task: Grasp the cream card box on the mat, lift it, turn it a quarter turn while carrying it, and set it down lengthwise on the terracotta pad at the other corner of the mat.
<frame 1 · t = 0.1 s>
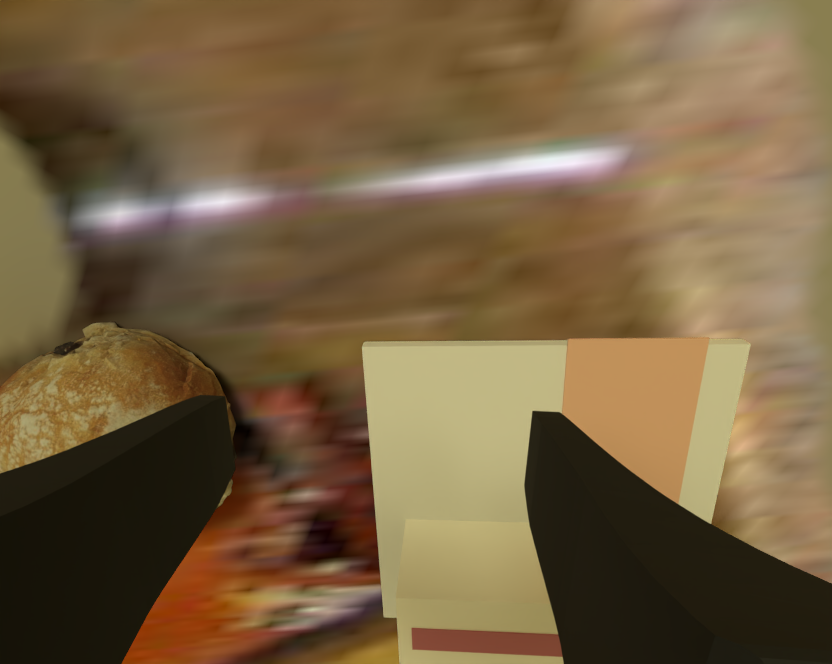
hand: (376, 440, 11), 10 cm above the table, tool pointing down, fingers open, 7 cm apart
mat: (537, 492, 23), on the table
card box: (485, 556, 24), point 1 cm above the table, touching mat
bread roll: (154, 415, 24), on the table
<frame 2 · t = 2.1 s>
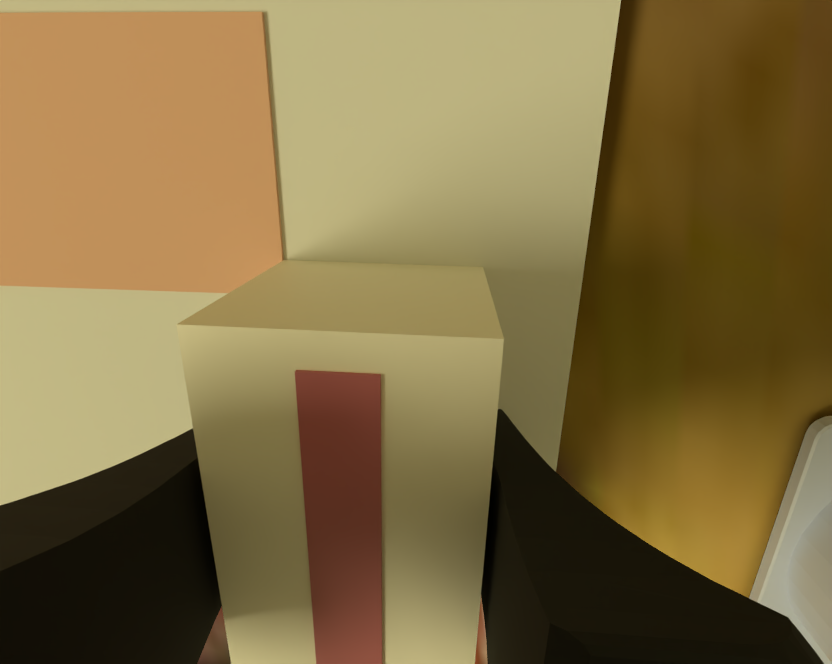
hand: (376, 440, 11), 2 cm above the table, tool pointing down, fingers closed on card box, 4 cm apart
mat: (246, 312, 12), on the table
card box: (382, 419, 12), point 1 cm above the table, touching gripper, mat
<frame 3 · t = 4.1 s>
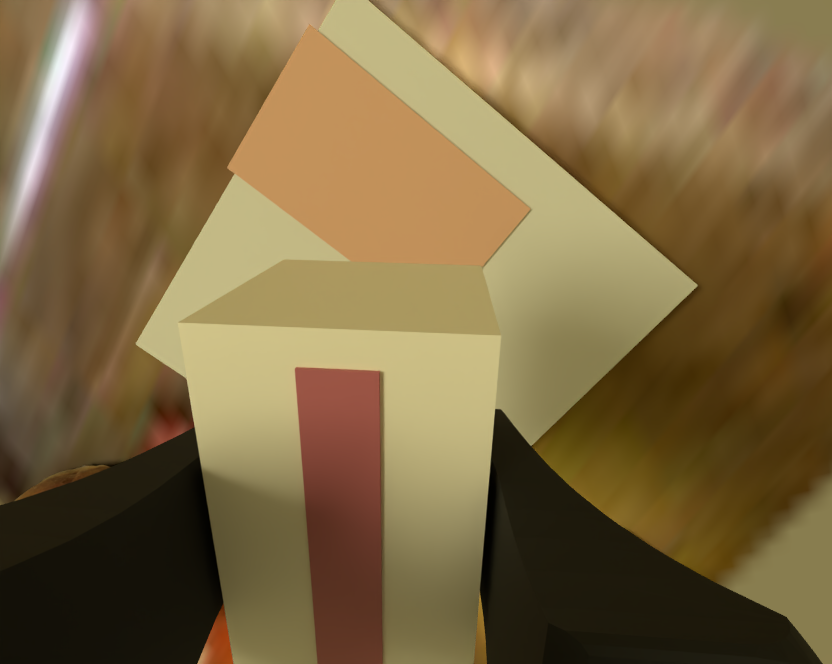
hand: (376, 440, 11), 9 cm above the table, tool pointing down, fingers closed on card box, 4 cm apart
mat: (399, 312, 19), on the table
card box: (382, 417, 12), point 8 cm above the table, touching gripper
bread roll: (132, 532, 25), on the table
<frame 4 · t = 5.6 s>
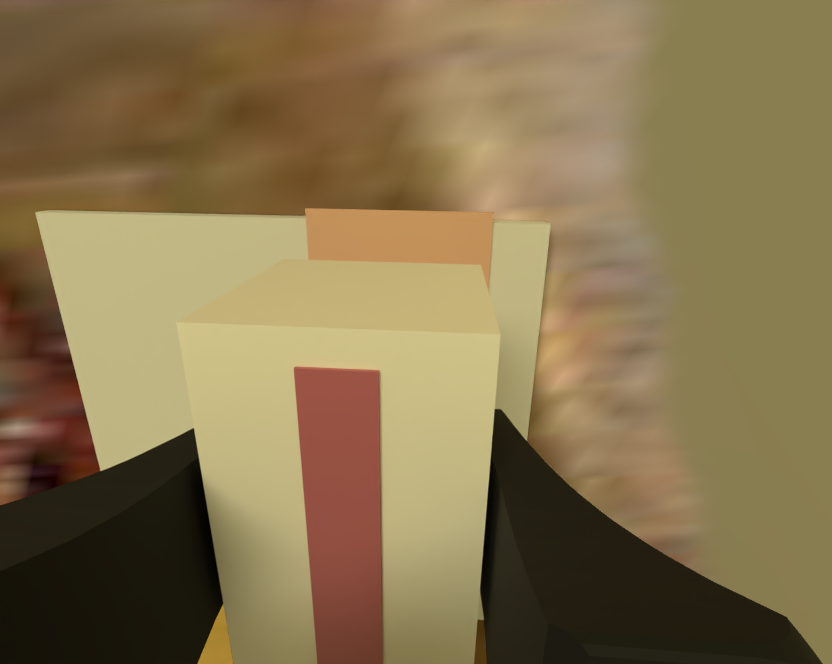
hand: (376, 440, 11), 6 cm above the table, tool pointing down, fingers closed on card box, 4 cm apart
mat: (306, 434, 18), on the table
card box: (382, 417, 12), point 4 cm above the table, touching gripper
when the fingers open (3 cm above the table, at t = 6.5 s): card box drops 1 cm, resting on mat.
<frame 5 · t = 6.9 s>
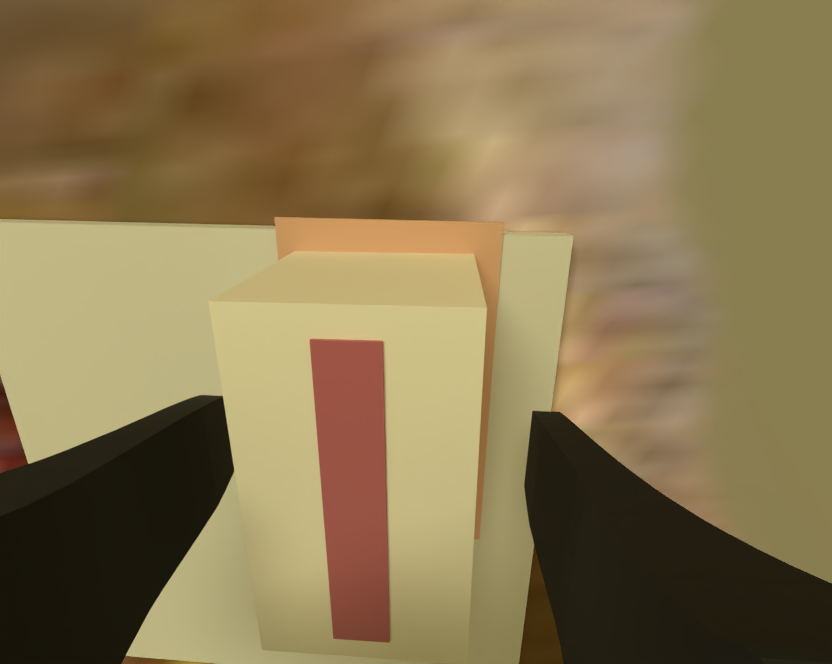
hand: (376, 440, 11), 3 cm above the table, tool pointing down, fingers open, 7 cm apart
mat: (283, 478, 15), on the table
card box: (386, 396, 13), point 1 cm above the table, touching mat
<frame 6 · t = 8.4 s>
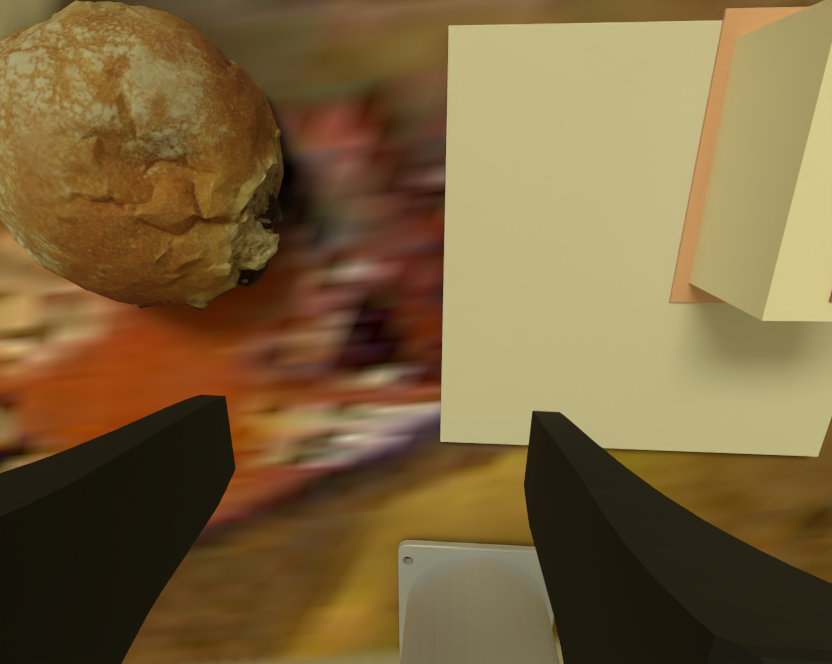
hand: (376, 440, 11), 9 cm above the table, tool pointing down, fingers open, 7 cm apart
mat: (649, 264, 18), on the table
card box: (777, 169, 16), point 1 cm above the table, touching mat
bread roll: (179, 170, 19), on the table
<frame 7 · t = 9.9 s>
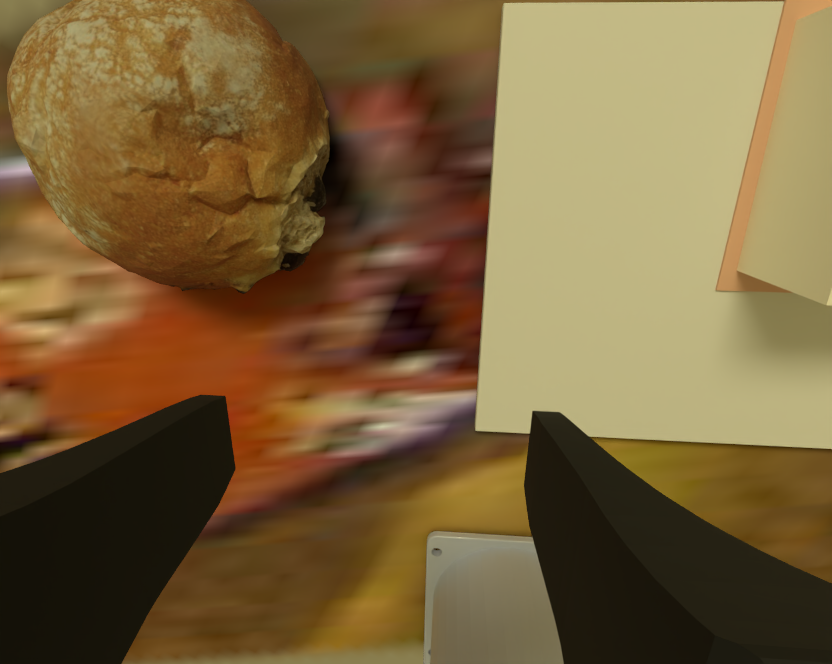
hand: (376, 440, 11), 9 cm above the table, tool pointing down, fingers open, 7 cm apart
mat: (696, 252, 18), on the table
bread roll: (220, 152, 19), on the table
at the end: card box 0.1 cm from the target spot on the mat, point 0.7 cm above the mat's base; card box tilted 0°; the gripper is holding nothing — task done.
